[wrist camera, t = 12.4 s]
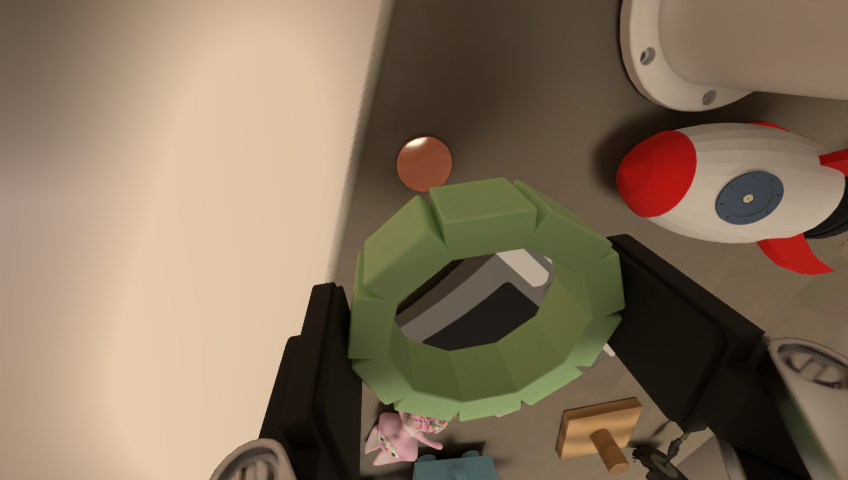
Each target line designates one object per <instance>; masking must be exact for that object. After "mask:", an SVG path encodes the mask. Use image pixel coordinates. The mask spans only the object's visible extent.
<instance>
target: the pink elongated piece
mask: <svg viewBox="0 0 848 480" xmlns="http://www.w3.org/2000/svg"><path fill="white" fill-rule="evenodd" d="M455 418H456V415H455V416H454V420H456V419H455ZM448 422H449V421H444V420H439V419H435V418H430V417H425V416H421V415H416V414H409V413H406V412H402V411H399V413H382V414H381V415H380V419H379V424H378V425H376V426H374V427H373V429H372V431H371V433H370V436H369V438H368V441H367V444H366V447H365V453H366V454H367V453H369V452H371V451H374V450H376V449H378V448H379V447H380V448H381V449H382V450H381V452H380V453H379V454H378V456H377V457H376V459H375V460H374V462H373V465H376V466H379V465H384V464H389V463H394V462H399V461H415V460H416V459H417V456H418V440H419V441H421V442H423V443H425V444H427V445H429V446H431V447H433V448H436V449H438V450H441V449H442V448H443V446H442V444H441V443H439V442H434V441H432V440H430V439H429V438H427V437H426V436H425V435H424V434H423V432H428V433H432V434H435V433H438V432H440V431H442V430H443V429H444V428H445V427H446V426H447V424H448ZM422 431H423V432H422Z"/></svg>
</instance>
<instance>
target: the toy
mask: <svg viewBox="0 0 848 480" xmlns="http://www.w3.org/2000/svg"><path fill="white" fill-rule="evenodd" d="M616 182H617V187H618V191H619V193H620V195H621V197H622V199H623V200H624V202H625V203H626V204H627V205H628V207H629V208H630V209H631V210H632V211H633V212H634V213H635V214H637V215H639V216H641V217H645V218H646V219H648V220H650V221H651V222H653V223H655V224H657V225H659V226H661V227H663V228H665V229H667V230H670V231H673V232H675V233H678V234H681V235H684V236H688V237H692V238H696V239H701V240H707V241H714V242H723V243H753V242H757V243H758V245H759V246H760V248H761V250H762V251H763V252H764V253H765V255H766V256H768V257H769V258H770V259H771V260H772V261H773V262H774V263H776V264H777V265H779V266H781V267H784V268H786V269H789V270H792V271H795V272H798V273H801V274H808V275H816V274H822V273H828V272H834V270H832V269H831V268H829V267H828V266H827V265H825V264H824V263H822V262H821V261H820V260H819V259H818V258H817V257H816V256H815V255H814V254H813V253H812V251H811V249H810V247H809V245H808V244H807V242H806V240H805V239H821V238H827V237H831V236H836V235H838V234H841V233H843V232H846V231H848V149H847V150H842V151H836V152H832V153H830V152H829V151H828V150H826V149H825V148H824V147H823V146H821V145H819V144H817V143H815V142H814V141H812V140H810V139H807V138H805V137H802V136H799V135H797V134H794V133H791V132H789V130H786V129H784V128H782V127H779V126H777V125H775V124H772V123H768V122H755V123H748V124H744V123H715V124H703V125H697V126H692V127H687V128H682V129H677V130H668V131H663V132H660V133H658V134H655V135H653V136H651V137H650V138H648V139H646V140H644V141H642V142H641V143H639V144H638V145H637V146H635V147H634V148H633V149H632V150H631V151H630V152H629V153H628V154H627V155H626V156H625V157H624V158H623V160H622V161H621V163H620V165H619V168H618V171H617V177H616Z"/></svg>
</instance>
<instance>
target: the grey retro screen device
mask: <svg viewBox="0 0 848 480" xmlns="http://www.w3.org/2000/svg"><path fill="white" fill-rule="evenodd" d="M554 277H555V272H554V268H553V265H552V261H551V259H549V258H547V257H545V256H543V255H541V254H539V253H537V252H535V251H533V250H531V249H529V248H524V249H518V250H512V251H506V252H500V253H494V254H488V255H482V256H476V257H470V258H466V259H465V260H464V261H463V262H462V263H461V264H460V265H459V266H458V267H456V268H455V269H454V270H453V271H452V272H451V273H450V274H449V275H448V276H446V277H445V278H444V279H443V280H442V281H441V282H440V283H439V284H437V285H436V286H435V287H434V288H433V289H431V290H430V291H429V292H428V293H426V294H425V295H424V296H423V297H421V298H420V299H419V300H418V301H417V302H415V303H414V304H413V305H411V306H410V307H408V308H407V309H406V310H404V311H403V312H402V313H400V314H399V315H397V316H396V317H395V319H394V321H395V322H396V324H397V325H398V326H399V328H400V329H401V331H402V332H403V334H404V335H405V336H406V338H407V339H410V340H413V341H416V342H420V343H423V344H426V345H429V346H433V347H436V348H439V349H443V350H446V351H453V350H459V349H464V348H470V347H475V346H481V345H486V344H492V343H496V342H498V341H499V340H501V339H502V338H504V337H505V336H507V335H508V334H509V333H511V332H512V331H514V330H515V329H517V328H518V327H520V326H521V325H523V324H524V323H525V322H527V321H528V320H530V319H531V318H533V317H534V316H536V314H537V312H538V310H539V308H540V306H541V304H542V302H543V300H544V298H545V296H546V294H547V292H548V290H549V288H550V286H551V283H552V281H553V279H554ZM609 355H610V356H611V357H613V356H614V355H615V353H614V352H613V350H612V349H611V348H610V347H609V345H608V344H607V343H606V344H605V346H604V347H603V349H602V350H601V352H600V353H599V355H598V356H597V358H596V359H595V361H594V362H593V364H592V365H591V366H579V368H580V369H581V371H582V373H585V372H587V371H588V370H589V369H591V368H592V367H594V366H595V365H596V364H598V363H599V362H601V361H602V360H603V359H605V358H606V357H608V356H609ZM521 403H524V401H522V400H521ZM513 412H514V411H513ZM508 413H511V412H508ZM508 413H503V414H498V415H496V416H497V417H500V416H503V415H505V414H508Z"/></svg>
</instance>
